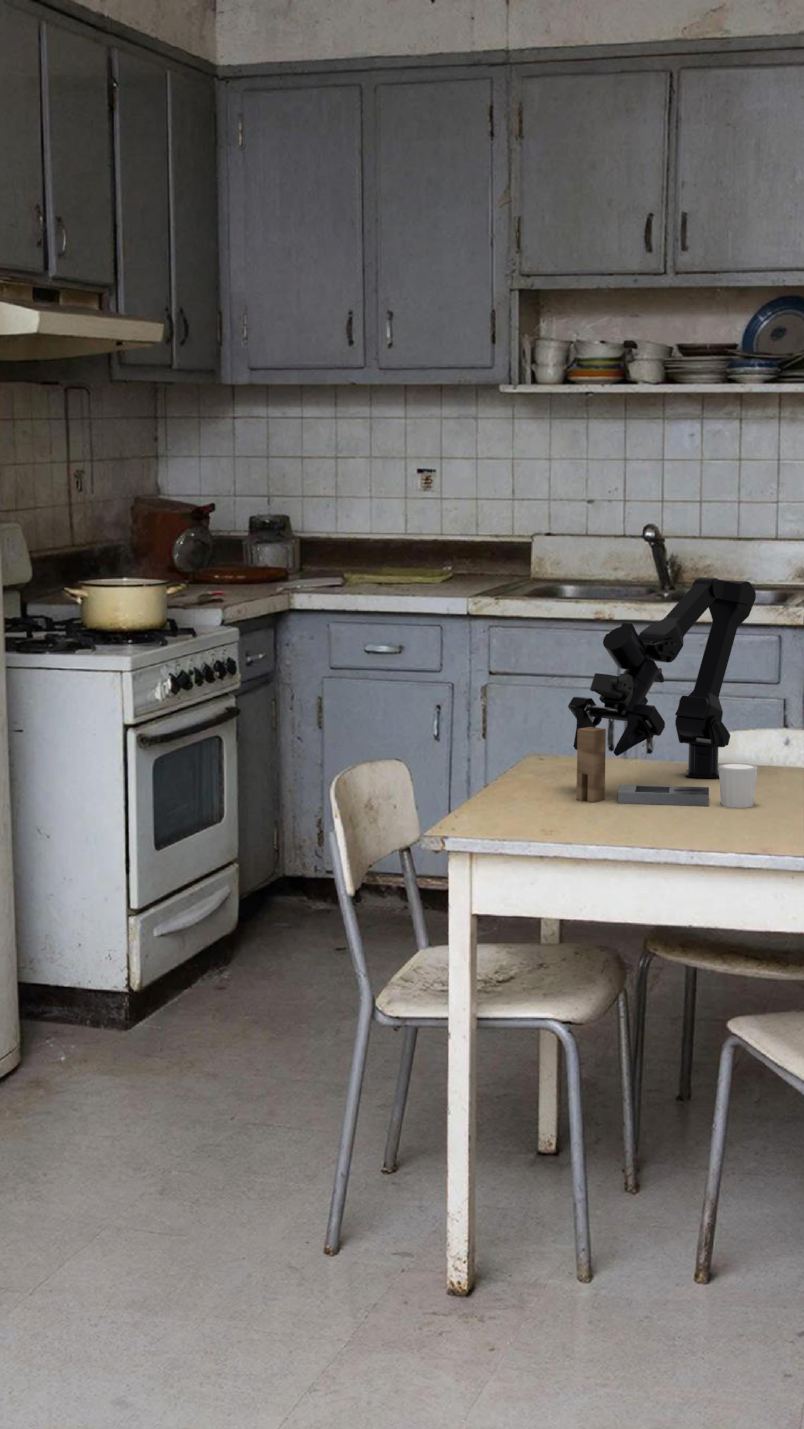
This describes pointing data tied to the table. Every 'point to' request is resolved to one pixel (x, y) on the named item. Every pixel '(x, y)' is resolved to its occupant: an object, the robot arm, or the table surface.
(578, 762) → the brown block
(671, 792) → the metal plate with hole
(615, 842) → the table surface
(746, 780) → the white cup
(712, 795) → the table surface
